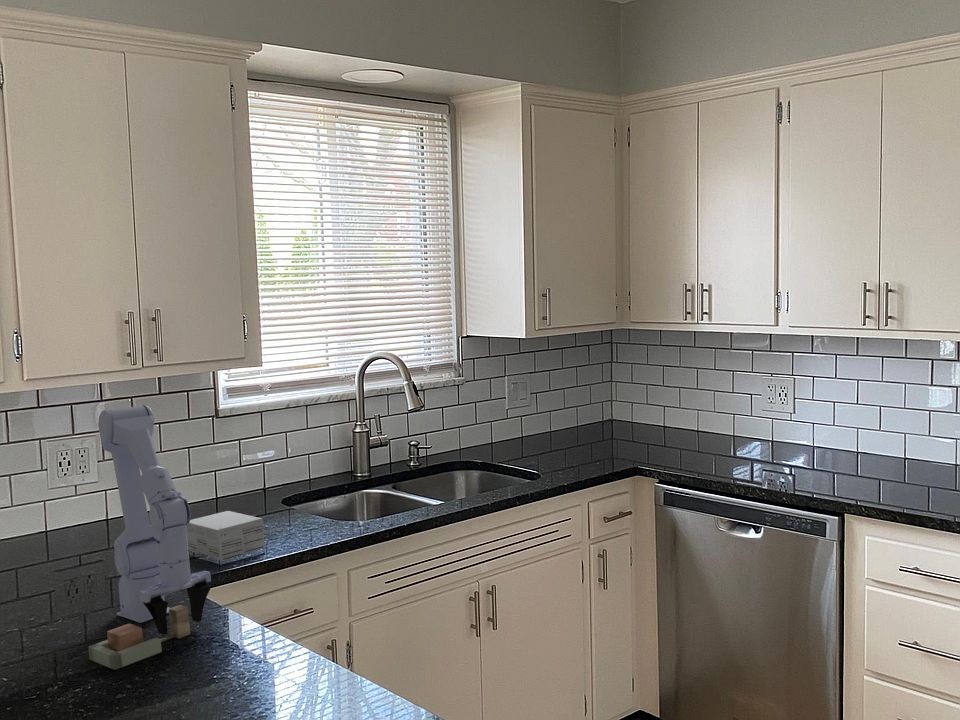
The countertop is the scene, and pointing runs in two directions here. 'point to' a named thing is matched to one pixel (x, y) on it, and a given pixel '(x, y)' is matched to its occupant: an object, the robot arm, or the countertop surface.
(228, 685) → the countertop surface
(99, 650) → the pale green u-shape
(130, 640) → the corded block
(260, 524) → the supplement box
